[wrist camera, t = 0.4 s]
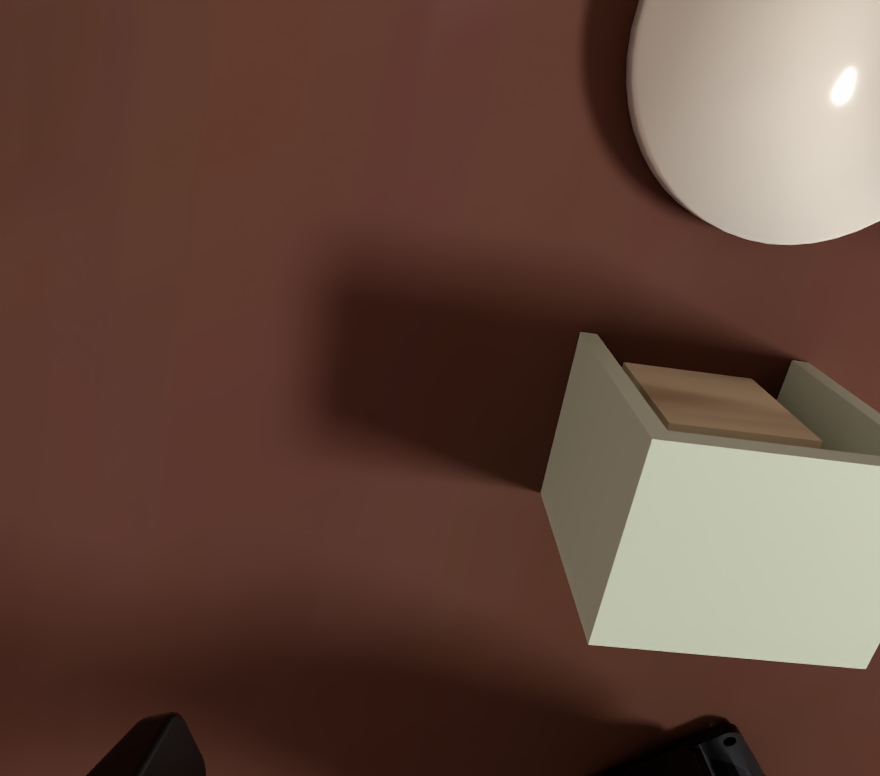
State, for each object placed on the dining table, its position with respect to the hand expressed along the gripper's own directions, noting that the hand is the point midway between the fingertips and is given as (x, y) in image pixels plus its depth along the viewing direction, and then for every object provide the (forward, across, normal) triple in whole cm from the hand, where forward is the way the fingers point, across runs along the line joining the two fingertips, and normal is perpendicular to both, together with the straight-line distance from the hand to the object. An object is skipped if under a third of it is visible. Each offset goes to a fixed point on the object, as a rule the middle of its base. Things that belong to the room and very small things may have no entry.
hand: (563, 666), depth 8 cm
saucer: (+13, -9, -5) cm, 17 cm away
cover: (+13, -5, +5) cm, 15 cm away
